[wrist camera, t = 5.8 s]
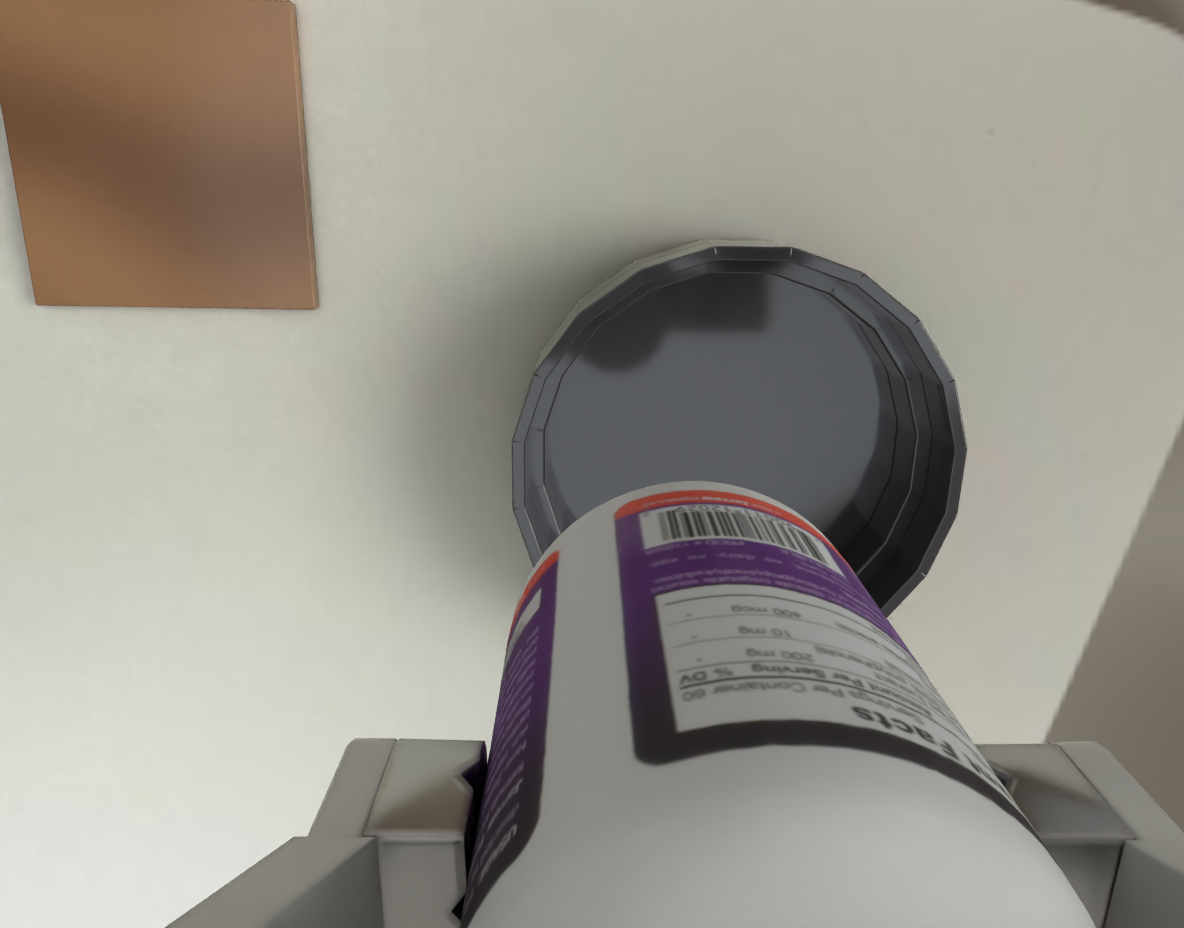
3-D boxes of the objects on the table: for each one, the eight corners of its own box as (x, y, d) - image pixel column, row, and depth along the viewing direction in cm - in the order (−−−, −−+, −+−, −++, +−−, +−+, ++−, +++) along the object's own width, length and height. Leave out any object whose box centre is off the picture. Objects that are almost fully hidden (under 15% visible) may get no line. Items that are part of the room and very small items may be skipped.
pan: (519, 235, 28) (509, 242, 24) (946, 243, 28) (998, 250, 24) (522, 621, 32) (514, 675, 28) (894, 626, 32) (932, 679, 29)
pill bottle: (650, 835, 15) (755, 1964, 5) (440, 609, 13) (98, 1587, 4) (927, 662, 14) (1643, 1679, 4) (729, 398, 12) (1155, 1053, 3)
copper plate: (-9, -3, 26) (-20, -6, 25) (295, 3, 26) (289, 0, 25) (44, 303, 28) (35, 305, 28) (319, 307, 29) (314, 309, 28)
